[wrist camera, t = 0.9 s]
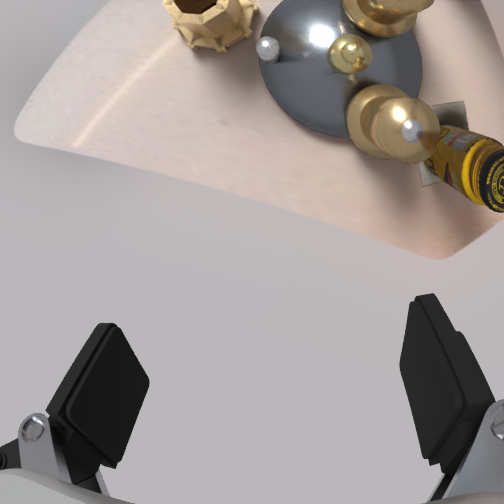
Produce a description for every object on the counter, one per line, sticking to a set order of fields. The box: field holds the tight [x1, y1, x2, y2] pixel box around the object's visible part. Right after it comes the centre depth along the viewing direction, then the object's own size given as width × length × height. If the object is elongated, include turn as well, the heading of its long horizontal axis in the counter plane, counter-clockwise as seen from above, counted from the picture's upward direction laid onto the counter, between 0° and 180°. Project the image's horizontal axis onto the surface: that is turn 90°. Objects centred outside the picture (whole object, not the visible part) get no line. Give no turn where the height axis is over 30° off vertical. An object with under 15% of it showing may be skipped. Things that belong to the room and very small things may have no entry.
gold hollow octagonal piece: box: [163, 0, 259, 53], centre depth 20 cm, size 8×8×8 cm
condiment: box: [419, 101, 504, 213], centre depth 22 cm, size 7×8×12 cm
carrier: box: [256, 0, 440, 163], centre depth 21 cm, size 18×19×9 cm
